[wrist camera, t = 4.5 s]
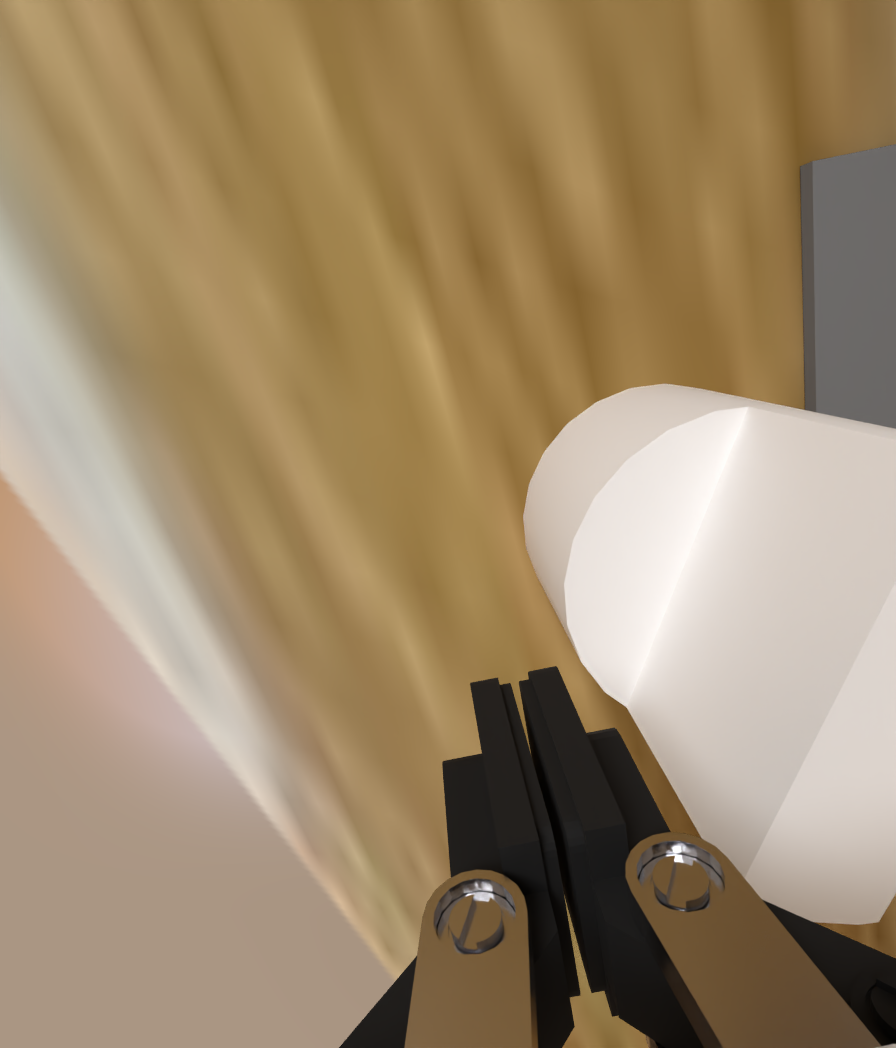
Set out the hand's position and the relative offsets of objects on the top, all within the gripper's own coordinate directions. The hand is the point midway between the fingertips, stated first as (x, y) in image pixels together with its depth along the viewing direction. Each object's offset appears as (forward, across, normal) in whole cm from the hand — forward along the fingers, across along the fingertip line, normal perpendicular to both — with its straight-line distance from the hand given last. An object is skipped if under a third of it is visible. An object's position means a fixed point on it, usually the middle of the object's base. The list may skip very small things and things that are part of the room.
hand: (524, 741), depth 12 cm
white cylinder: (+11, -6, 0) cm, 13 cm away
